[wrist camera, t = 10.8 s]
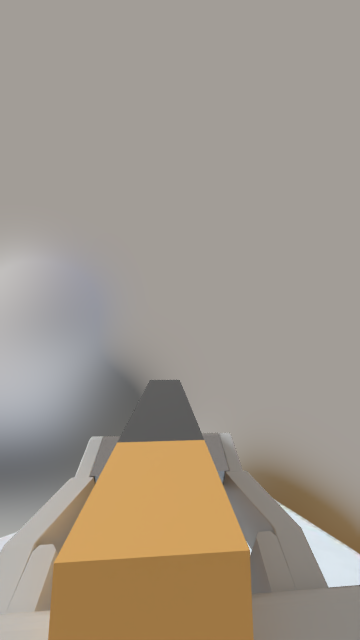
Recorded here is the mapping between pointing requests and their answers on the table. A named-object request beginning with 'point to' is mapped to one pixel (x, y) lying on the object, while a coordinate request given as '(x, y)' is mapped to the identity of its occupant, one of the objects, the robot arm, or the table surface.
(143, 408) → the plug rod
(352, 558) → the table surface
